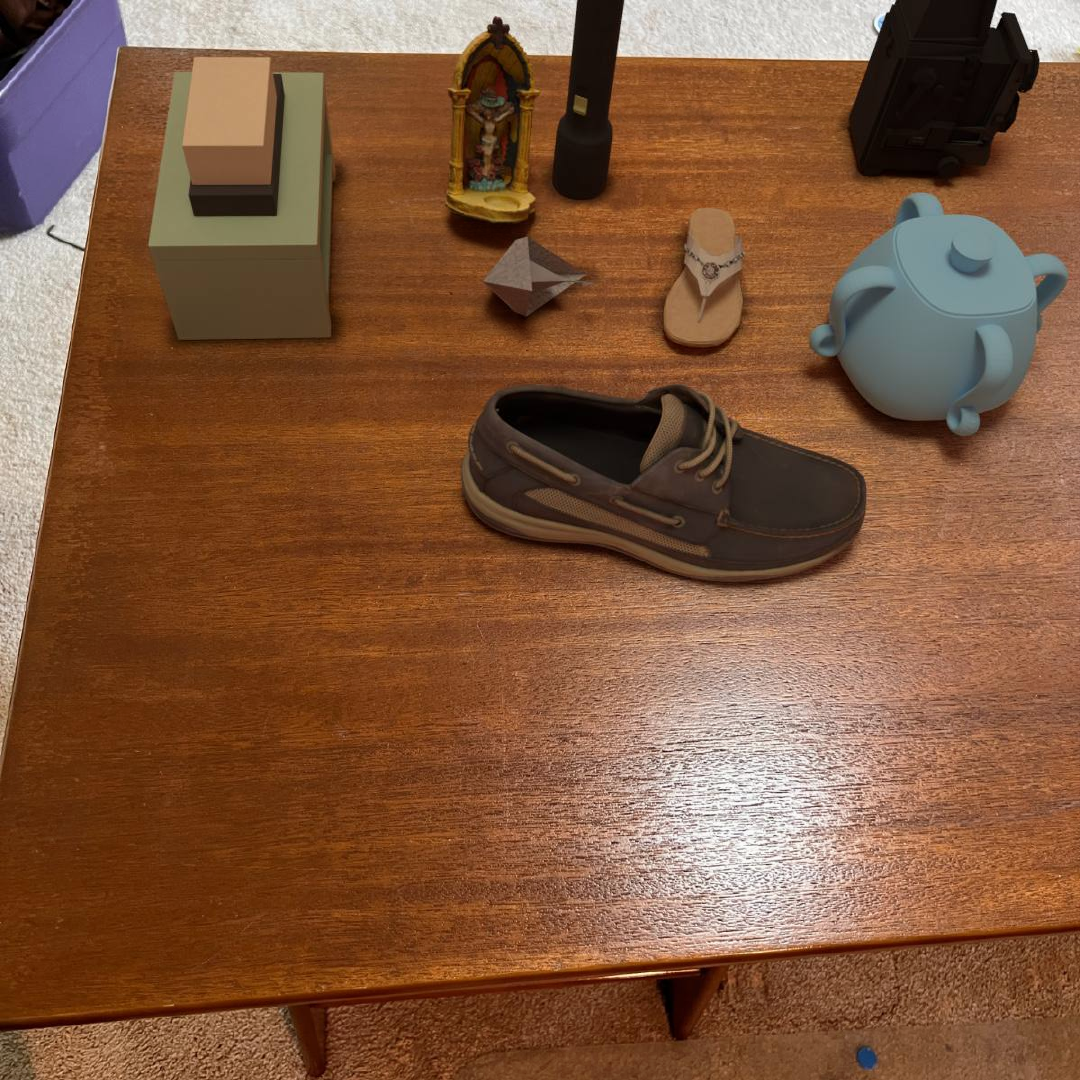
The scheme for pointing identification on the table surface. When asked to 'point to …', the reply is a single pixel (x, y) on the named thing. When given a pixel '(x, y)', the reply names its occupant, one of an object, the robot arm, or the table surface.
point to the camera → (940, 86)
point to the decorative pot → (939, 316)
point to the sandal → (706, 283)
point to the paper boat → (531, 276)
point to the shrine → (492, 129)
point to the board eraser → (234, 136)
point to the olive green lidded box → (250, 233)
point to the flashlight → (588, 102)
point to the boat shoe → (658, 482)
